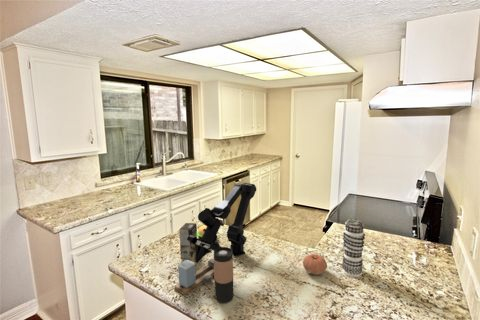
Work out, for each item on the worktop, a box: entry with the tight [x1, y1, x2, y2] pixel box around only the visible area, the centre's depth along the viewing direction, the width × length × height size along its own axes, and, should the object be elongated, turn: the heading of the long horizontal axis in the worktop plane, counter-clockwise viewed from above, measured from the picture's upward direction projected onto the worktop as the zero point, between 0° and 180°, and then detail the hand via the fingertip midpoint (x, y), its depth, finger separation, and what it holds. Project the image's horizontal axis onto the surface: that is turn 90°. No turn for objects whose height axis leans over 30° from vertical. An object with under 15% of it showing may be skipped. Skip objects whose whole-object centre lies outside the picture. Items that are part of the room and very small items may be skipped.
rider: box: [177, 259, 197, 288], centre depth 113 cm, size 5×5×11 cm
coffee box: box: [179, 222, 198, 260], centre depth 140 cm, size 9×6×16 cm
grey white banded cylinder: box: [341, 218, 366, 278], centre depth 121 cm, size 9×9×25 cm
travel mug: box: [213, 246, 234, 304], centre depth 105 cm, size 8×8×20 cm
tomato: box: [302, 253, 328, 276], centre depth 123 cm, size 11×11×8 cm
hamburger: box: [197, 224, 207, 239], centre depth 159 cm, size 12×12×9 cm
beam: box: [174, 257, 214, 296], centre depth 119 cm, size 24×9×4 cm, turn 144°
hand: (196, 262), depth 117 cm, fingers closed
